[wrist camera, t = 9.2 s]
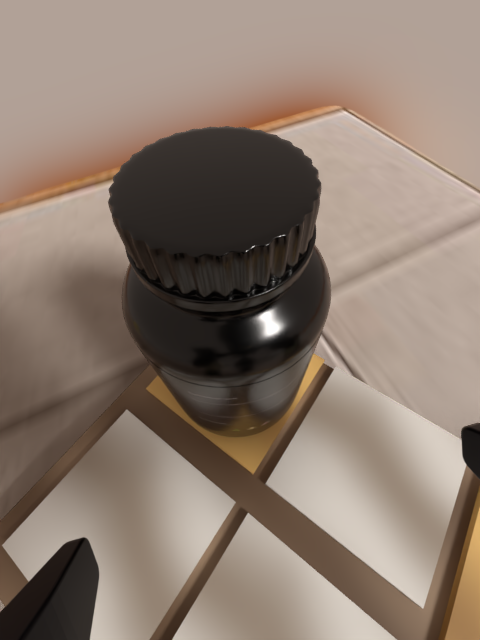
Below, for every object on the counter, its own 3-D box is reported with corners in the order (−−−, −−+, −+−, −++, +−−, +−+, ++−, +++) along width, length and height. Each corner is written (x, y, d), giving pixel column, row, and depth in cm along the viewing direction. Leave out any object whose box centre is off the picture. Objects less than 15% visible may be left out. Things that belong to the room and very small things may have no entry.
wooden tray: (412, 1133, 8) (455, 1296, 6) (-7, 550, 14) (-38, 554, 13) (530, 501, 15) (564, 499, 13) (214, 310, 22) (211, 294, 20)
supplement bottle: (168, 338, 18) (68, 124, 8) (276, 314, 19) (305, 90, 9) (184, 458, 15) (38, 335, 5) (317, 423, 15) (444, 249, 5)
